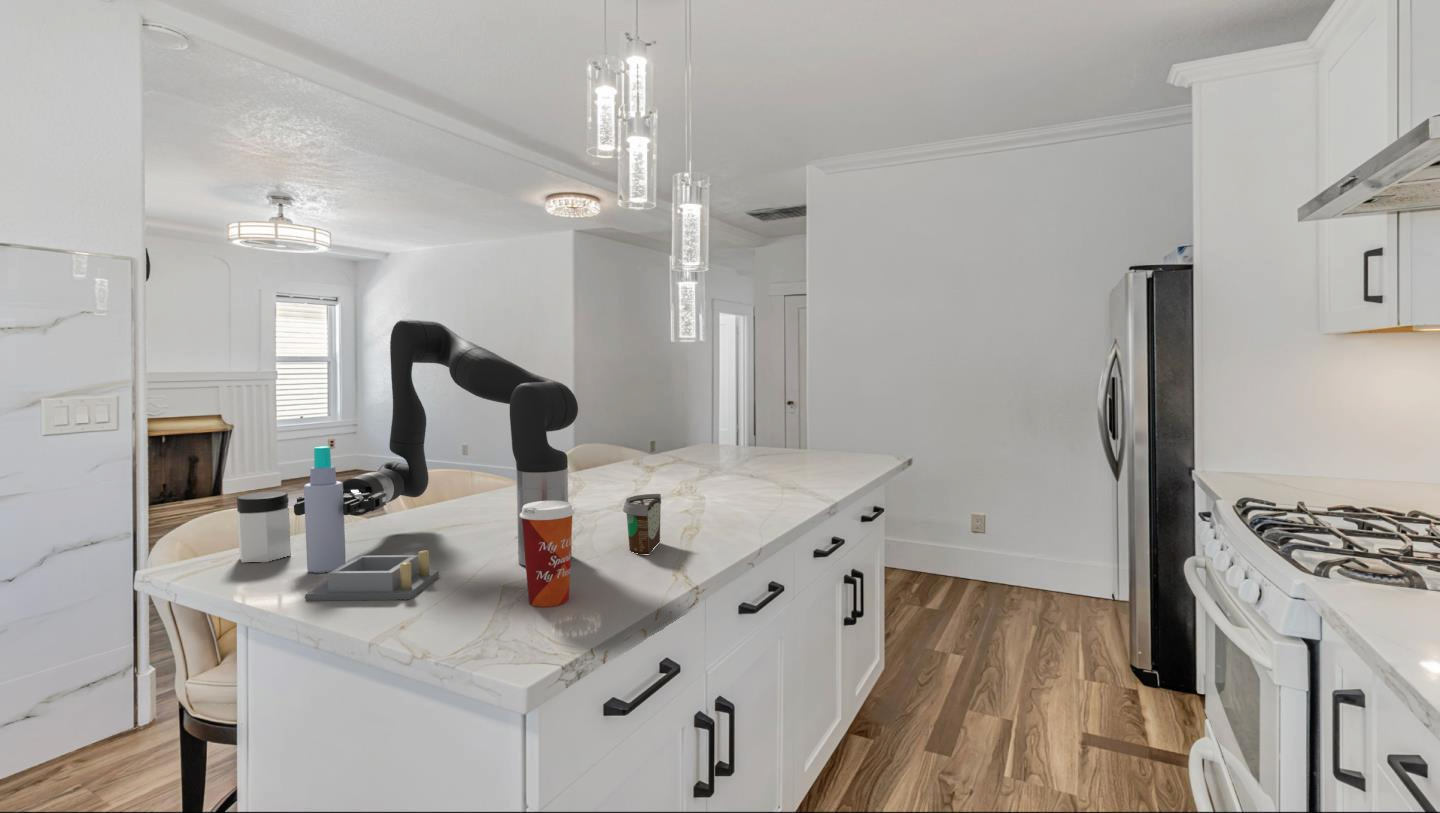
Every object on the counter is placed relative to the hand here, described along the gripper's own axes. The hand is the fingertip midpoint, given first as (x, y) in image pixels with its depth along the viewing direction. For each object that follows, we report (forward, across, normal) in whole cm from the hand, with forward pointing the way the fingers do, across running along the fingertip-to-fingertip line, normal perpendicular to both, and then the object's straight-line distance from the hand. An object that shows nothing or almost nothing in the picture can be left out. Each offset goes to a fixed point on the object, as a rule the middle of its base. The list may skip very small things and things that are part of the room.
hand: (320, 509), depth 123 cm
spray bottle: (-1, 0, +11) cm, 11 cm away
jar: (-9, -16, +11) cm, 22 cm away
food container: (-13, +55, +11) cm, 58 cm away
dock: (+10, +14, +11) cm, 20 cm away
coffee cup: (+17, +44, +11) cm, 48 cm away
